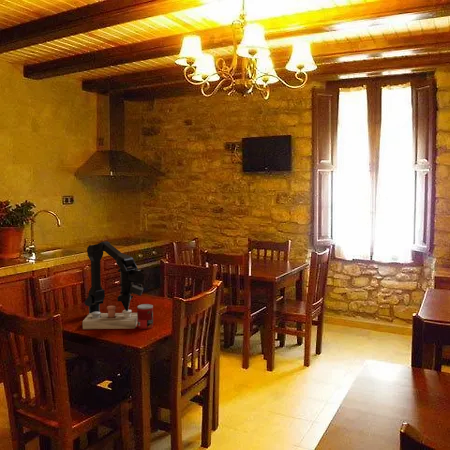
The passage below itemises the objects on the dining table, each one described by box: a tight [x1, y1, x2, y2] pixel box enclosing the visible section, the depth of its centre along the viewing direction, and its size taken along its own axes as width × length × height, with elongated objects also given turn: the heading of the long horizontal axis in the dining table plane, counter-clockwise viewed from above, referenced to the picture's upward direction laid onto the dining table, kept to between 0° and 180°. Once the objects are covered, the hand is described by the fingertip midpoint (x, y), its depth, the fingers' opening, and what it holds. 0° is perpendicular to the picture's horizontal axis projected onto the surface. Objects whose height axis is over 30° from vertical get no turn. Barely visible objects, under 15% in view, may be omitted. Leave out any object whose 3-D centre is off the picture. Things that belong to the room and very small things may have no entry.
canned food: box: [136, 303, 154, 330], centre depth 230 cm, size 8×8×11 cm
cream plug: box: [122, 309, 133, 318], centre depth 235 cm, size 5×5×6 cm
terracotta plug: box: [106, 305, 117, 318], centre depth 234 cm, size 5×5×6 cm
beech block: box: [82, 312, 138, 330], centre depth 235 cm, size 14×26×4 cm, turn 92°
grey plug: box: [91, 311, 102, 318], centre depth 234 cm, size 5×5×6 cm
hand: (126, 310), depth 235 cm, fingers closed, pressing on cream plug
